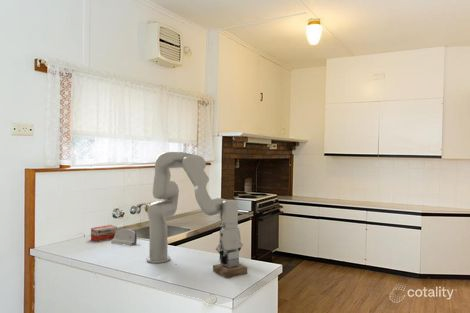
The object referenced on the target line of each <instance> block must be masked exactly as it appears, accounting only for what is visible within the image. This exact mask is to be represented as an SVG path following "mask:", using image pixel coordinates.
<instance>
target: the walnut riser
mask: <svg viewBox="0 0 470 313" xmlns="http://www.w3.org/2000/svg"><path fill="white" fill-rule="evenodd" d="M212 272H213V273H214V274H216V275H219V276H221V277H223V278H225V279H231V278H234V277H239V276H244V275H247V274H248V266H246V265H242V264H240V263H239V266H235V267H230V268H228V267H226V266H224V265H222V264H221V263H218V264H213V265H212Z"/></svg>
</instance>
